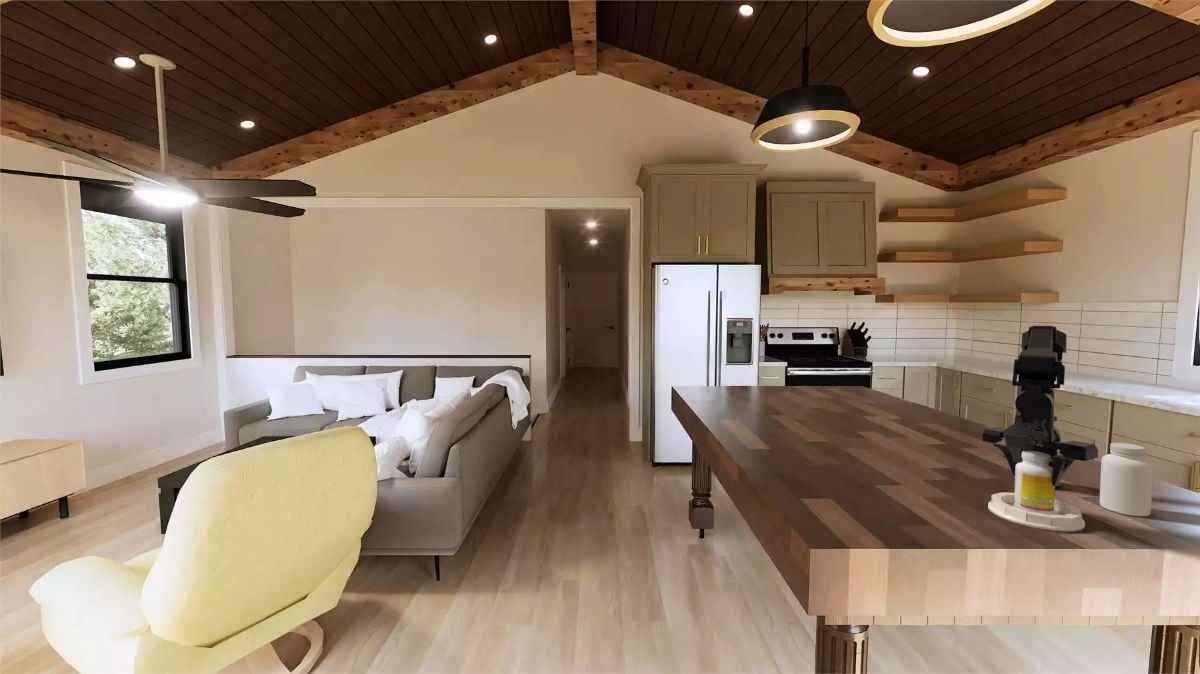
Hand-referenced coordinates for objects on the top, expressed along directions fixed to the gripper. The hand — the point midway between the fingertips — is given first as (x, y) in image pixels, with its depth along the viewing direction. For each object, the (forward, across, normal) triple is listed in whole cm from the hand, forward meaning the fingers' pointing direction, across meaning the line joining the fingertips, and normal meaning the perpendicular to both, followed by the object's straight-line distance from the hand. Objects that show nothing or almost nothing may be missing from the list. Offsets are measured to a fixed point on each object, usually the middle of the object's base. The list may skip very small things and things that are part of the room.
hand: (1034, 480), depth 107 cm
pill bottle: (+8, +7, +22) cm, 24 cm away
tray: (+8, 0, 0) cm, 8 cm away
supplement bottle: (+7, 0, 0) cm, 7 cm away
